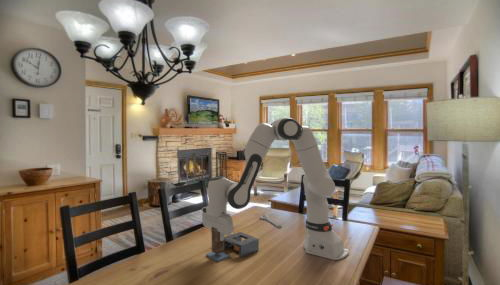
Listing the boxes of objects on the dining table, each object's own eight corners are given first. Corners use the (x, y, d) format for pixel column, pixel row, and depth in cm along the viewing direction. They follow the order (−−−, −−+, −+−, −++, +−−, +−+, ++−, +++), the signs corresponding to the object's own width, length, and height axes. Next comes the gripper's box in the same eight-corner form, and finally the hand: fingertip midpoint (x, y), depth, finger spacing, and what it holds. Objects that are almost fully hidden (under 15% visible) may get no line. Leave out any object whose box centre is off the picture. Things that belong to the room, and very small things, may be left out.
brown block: (223, 251, 136) (223, 226, 136) (216, 254, 133) (216, 229, 133) (218, 249, 139) (218, 225, 139) (211, 251, 136) (211, 226, 136)
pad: (229, 257, 136) (229, 255, 136) (217, 262, 131) (217, 259, 131) (217, 251, 142) (217, 249, 142) (206, 255, 137) (206, 253, 137)
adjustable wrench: (282, 228, 177) (282, 225, 176) (273, 230, 174) (273, 227, 174) (266, 216, 200) (266, 214, 200) (258, 217, 198) (258, 215, 198)
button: (247, 249, 144) (247, 244, 144) (240, 252, 141) (240, 247, 140) (240, 246, 147) (240, 241, 147) (233, 249, 144) (233, 244, 144)
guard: (258, 250, 143) (258, 238, 143) (241, 258, 135) (241, 245, 135) (240, 242, 153) (239, 231, 153) (222, 249, 145) (222, 237, 145)
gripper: (236, 213, 130) (236, 243, 131) (210, 205, 145) (210, 232, 145) (226, 216, 126) (226, 247, 126) (199, 207, 140) (200, 235, 141)
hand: (217, 239), depth 136 cm, fingers closed on brown block, 4 cm apart
